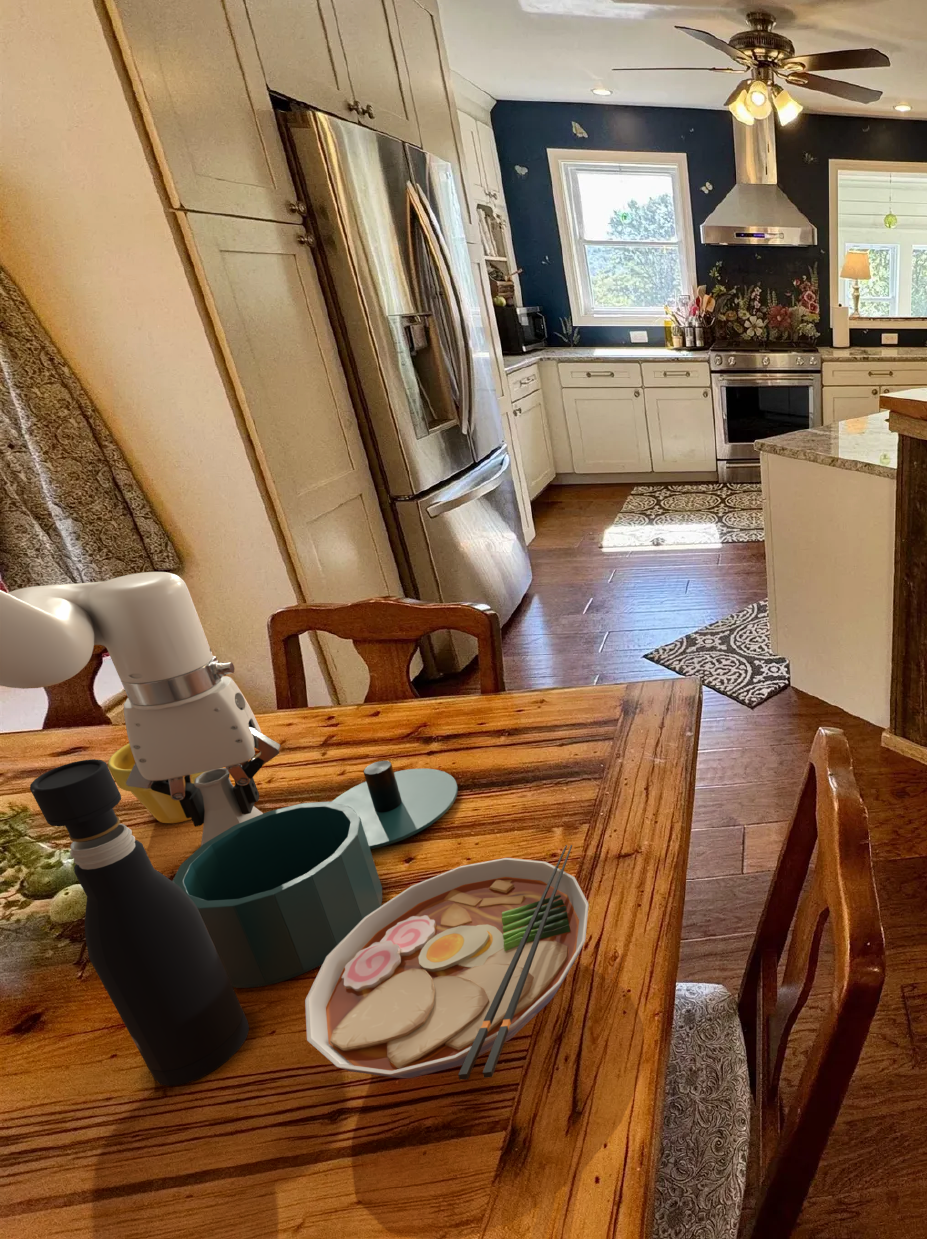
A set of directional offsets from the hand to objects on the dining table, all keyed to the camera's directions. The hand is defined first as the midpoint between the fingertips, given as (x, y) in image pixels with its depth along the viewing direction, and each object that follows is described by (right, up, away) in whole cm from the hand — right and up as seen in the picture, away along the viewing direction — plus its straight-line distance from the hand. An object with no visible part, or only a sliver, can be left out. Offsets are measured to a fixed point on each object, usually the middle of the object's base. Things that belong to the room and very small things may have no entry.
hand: (226, 811), depth 85 cm
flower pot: (-12, -2, +7) cm, 14 cm away
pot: (+17, -9, -10) cm, 22 cm away
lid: (+15, -2, +7) cm, 17 cm away
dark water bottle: (+19, -14, -22) cm, 32 cm away
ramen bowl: (+40, -13, -17) cm, 46 cm away
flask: (0, -5, +2) cm, 5 cm away
